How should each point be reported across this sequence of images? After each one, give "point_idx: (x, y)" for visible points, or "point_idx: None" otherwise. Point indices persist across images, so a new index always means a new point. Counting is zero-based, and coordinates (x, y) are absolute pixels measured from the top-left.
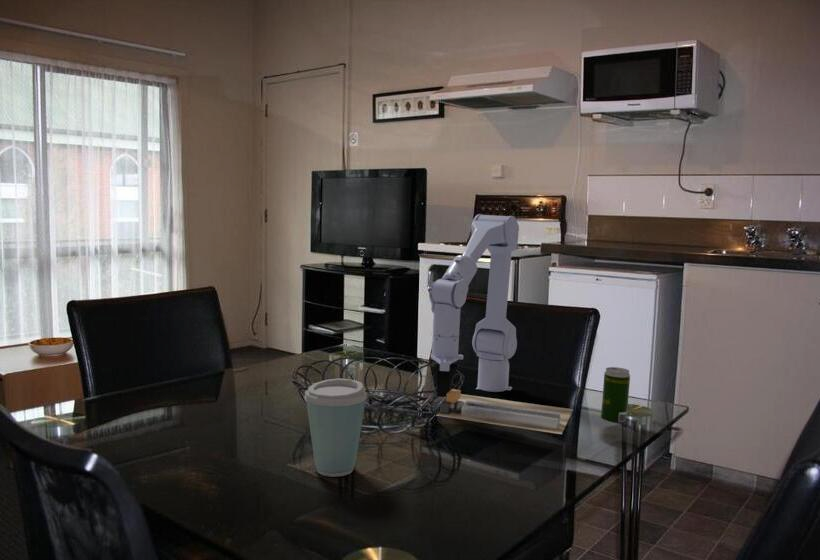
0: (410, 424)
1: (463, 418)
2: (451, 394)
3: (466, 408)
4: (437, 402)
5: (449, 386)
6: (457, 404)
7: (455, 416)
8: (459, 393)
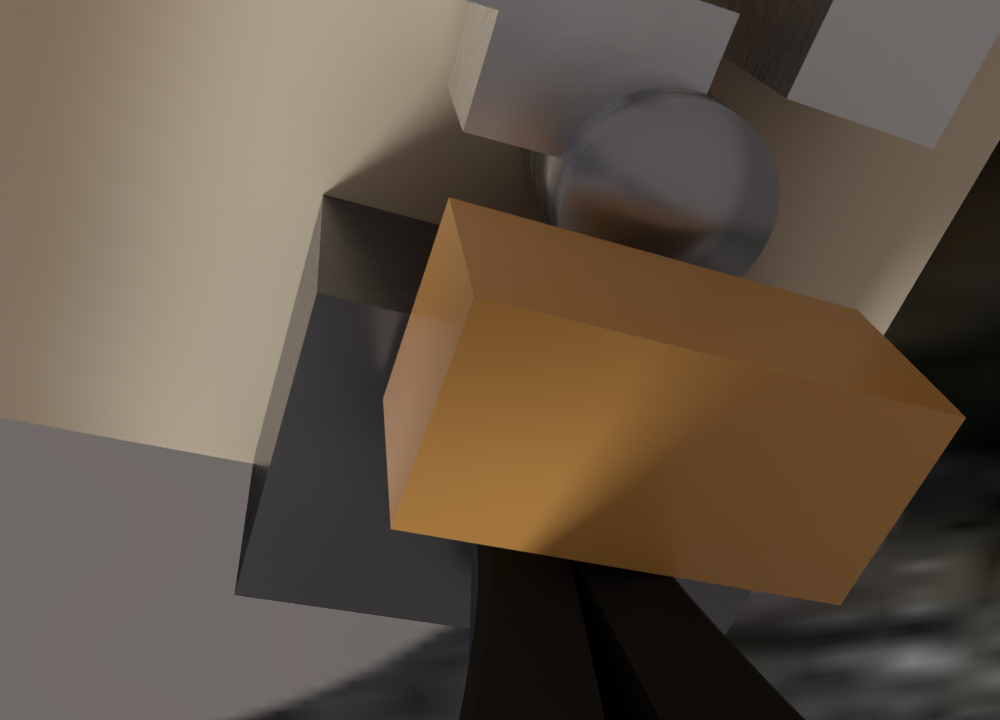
0: (888, 651)
1: (995, 48)
2: (890, 503)
3: (984, 25)
4: (740, 594)
5: (762, 688)
6: (747, 235)
7: (872, 194)
8: (596, 297)
